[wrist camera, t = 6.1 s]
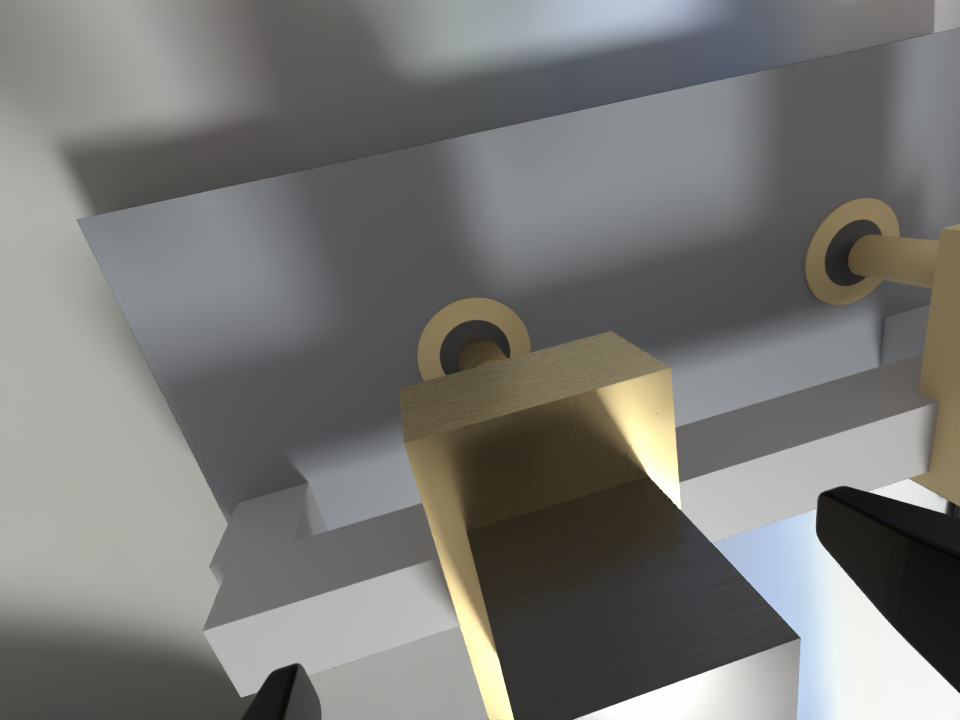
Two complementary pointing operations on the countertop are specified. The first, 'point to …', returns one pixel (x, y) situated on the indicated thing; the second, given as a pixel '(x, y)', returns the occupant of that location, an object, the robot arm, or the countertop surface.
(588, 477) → the block
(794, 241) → the plate
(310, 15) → the countertop surface
